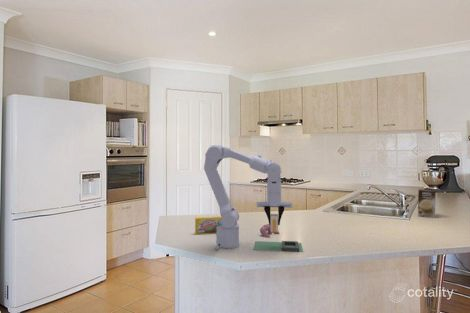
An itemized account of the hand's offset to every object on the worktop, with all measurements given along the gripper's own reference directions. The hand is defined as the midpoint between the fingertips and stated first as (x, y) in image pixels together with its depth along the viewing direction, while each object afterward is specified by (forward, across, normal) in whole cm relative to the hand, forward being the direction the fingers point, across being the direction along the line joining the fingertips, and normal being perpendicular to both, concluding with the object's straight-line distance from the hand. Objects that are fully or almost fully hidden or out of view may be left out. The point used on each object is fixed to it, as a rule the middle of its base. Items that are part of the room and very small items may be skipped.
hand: (274, 224), depth 128 cm
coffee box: (+12, +91, +76) cm, 119 cm away
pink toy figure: (+11, -3, +19) cm, 22 cm away
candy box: (+11, -32, +21) cm, 39 cm away
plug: (+2, 0, 0) cm, 3 cm away
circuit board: (+10, +1, +2) cm, 11 cm away
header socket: (+11, +6, 0) cm, 12 cm away
